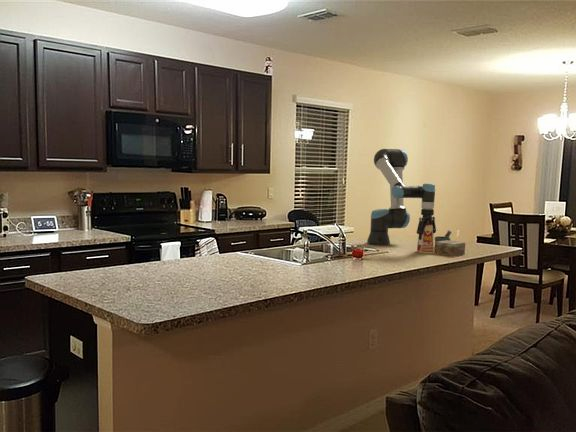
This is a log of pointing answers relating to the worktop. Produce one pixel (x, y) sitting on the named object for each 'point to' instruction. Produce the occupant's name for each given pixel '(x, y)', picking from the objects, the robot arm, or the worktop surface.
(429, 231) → the milk carton
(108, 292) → the worktop surface
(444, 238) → the mortar and pestle
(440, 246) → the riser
